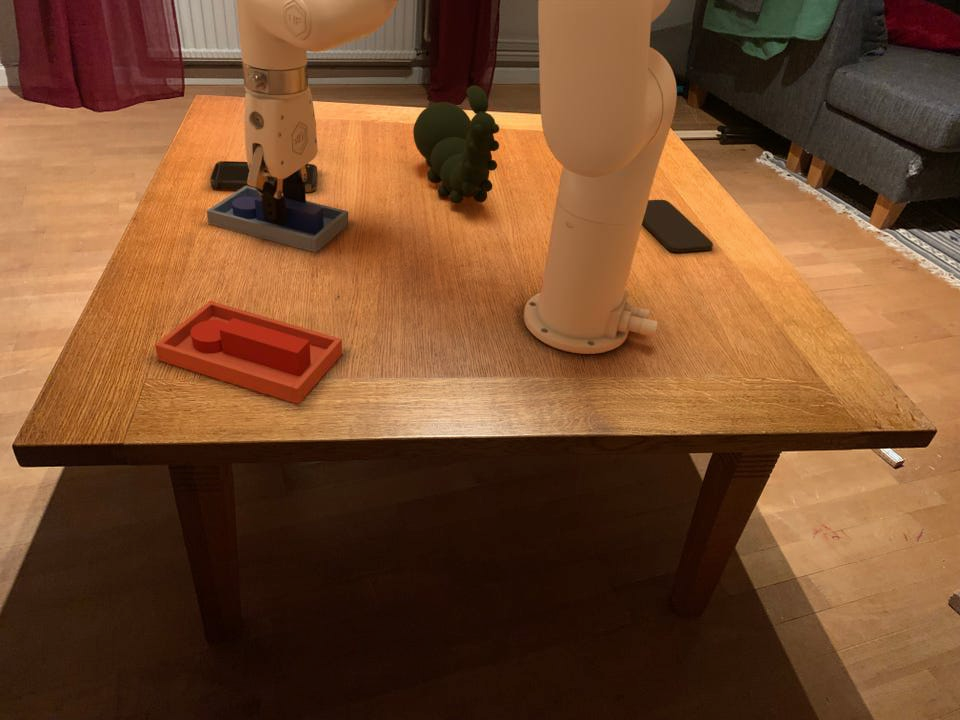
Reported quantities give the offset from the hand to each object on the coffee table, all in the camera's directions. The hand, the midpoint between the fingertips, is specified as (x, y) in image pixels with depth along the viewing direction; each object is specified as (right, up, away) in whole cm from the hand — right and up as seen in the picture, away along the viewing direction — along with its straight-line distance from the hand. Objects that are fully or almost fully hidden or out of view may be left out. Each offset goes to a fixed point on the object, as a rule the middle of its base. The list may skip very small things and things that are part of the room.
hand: (285, 213), depth 100 cm
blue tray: (-1, -1, +1) cm, 2 cm away
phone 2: (+55, 0, +12) cm, 56 cm away
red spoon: (+2, -19, -23) cm, 30 cm away
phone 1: (-6, +7, +12) cm, 15 cm away
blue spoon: (-1, -1, +1) cm, 2 cm away
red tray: (+2, -19, -22) cm, 30 cm away
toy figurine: (+22, +8, +17) cm, 28 cm away
